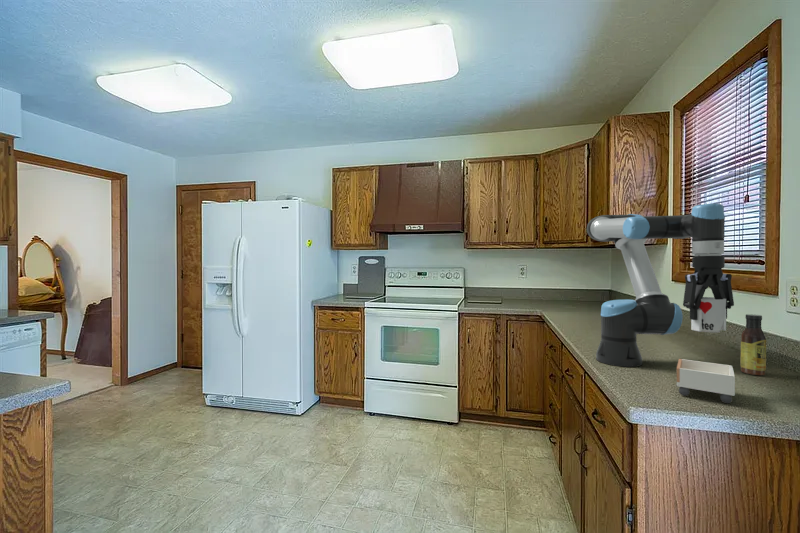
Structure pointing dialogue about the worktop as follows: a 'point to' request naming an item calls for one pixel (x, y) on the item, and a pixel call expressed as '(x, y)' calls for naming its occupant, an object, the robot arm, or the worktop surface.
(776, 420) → the worktop surface
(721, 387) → the white open box
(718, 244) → the robot arm
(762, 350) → the sauce bottle
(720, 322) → the cup
